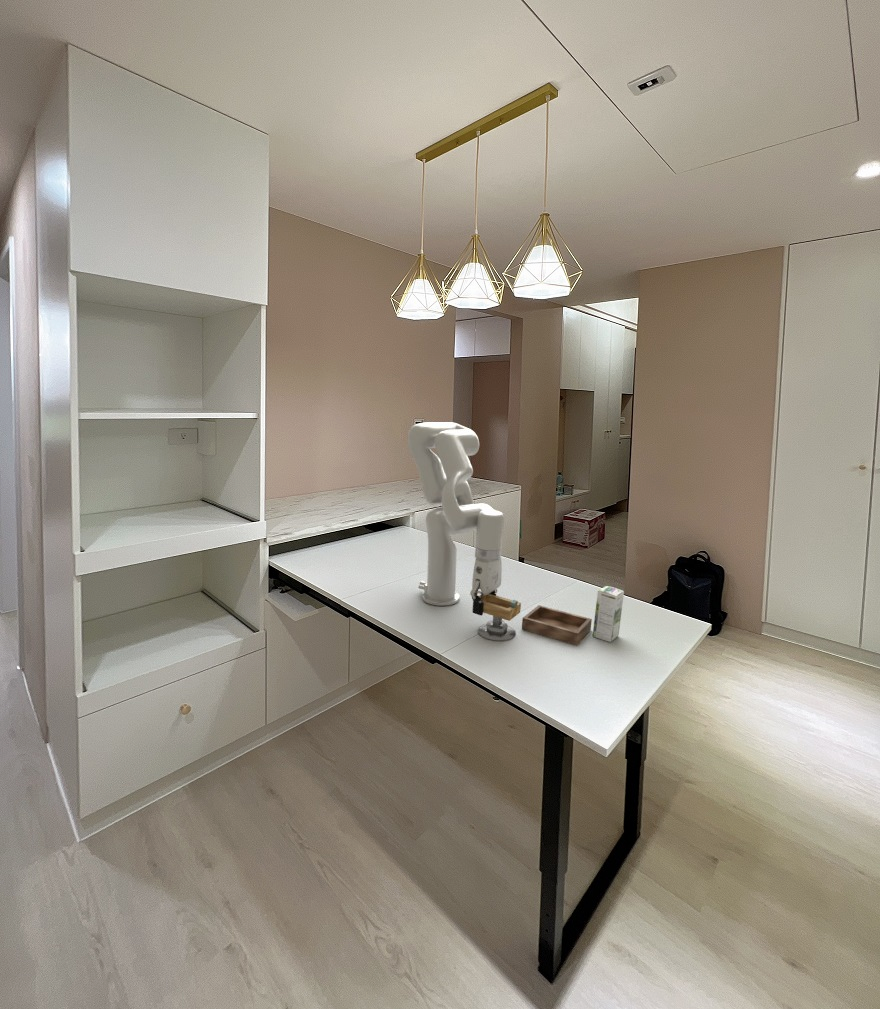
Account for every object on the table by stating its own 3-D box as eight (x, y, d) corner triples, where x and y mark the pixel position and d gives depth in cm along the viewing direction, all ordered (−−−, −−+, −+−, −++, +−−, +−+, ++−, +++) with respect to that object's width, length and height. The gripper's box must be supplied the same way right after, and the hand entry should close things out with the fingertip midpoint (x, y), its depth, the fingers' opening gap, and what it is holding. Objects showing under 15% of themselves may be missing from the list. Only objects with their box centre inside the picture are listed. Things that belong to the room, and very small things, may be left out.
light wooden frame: (509, 620, 150) (510, 606, 149) (472, 609, 156) (473, 594, 155) (520, 612, 156) (521, 598, 155) (484, 601, 162) (485, 587, 161)
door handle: (471, 634, 155) (472, 611, 154) (489, 621, 164) (490, 599, 163) (505, 644, 149) (506, 621, 148) (521, 630, 158) (523, 608, 157)
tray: (521, 629, 159) (522, 617, 159) (537, 615, 169) (538, 605, 169) (576, 645, 150) (578, 633, 150) (590, 630, 160) (591, 619, 159)
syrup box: (600, 630, 160) (604, 584, 157) (619, 636, 157) (624, 590, 154) (592, 636, 156) (596, 590, 153) (611, 643, 152) (616, 595, 149)
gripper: (485, 563, 145) (480, 623, 149) (513, 548, 159) (508, 603, 164) (461, 557, 149) (457, 616, 153) (491, 542, 163) (487, 596, 168)
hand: (484, 609), depth 158 cm, fingers closed on light wooden frame, 7 cm apart
